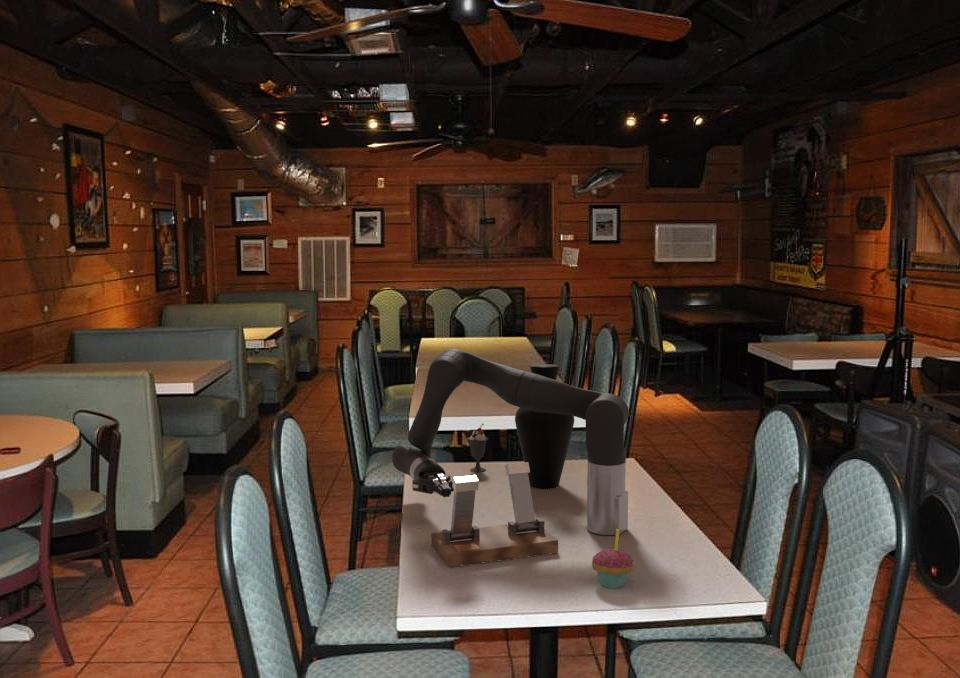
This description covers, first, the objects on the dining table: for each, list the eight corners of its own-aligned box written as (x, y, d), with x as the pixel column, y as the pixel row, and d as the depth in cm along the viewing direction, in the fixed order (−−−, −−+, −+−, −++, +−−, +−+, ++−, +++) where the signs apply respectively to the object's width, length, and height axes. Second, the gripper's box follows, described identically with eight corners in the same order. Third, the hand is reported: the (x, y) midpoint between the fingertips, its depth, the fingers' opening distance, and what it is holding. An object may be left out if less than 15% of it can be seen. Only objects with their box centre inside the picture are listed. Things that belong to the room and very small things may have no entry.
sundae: (488, 473, 255) (488, 425, 253) (466, 473, 255) (466, 425, 253) (488, 467, 261) (488, 420, 260) (467, 467, 262) (467, 420, 260)
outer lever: (469, 534, 191) (475, 474, 185) (472, 540, 189) (478, 480, 183) (447, 537, 189) (453, 477, 183) (450, 543, 187) (456, 482, 181)
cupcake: (605, 572, 178) (606, 518, 176) (641, 582, 172) (642, 526, 171) (583, 585, 171) (584, 529, 170) (620, 596, 166) (621, 538, 164)
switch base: (534, 532, 202) (534, 510, 202) (558, 552, 189) (558, 528, 188) (431, 545, 194) (431, 522, 193) (448, 567, 181) (448, 542, 180)
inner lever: (535, 530, 195) (524, 464, 200) (539, 529, 193) (528, 462, 198) (514, 533, 193) (504, 465, 198) (518, 532, 191) (507, 464, 196)
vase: (506, 479, 248) (506, 363, 244) (560, 474, 253) (560, 361, 249) (527, 496, 231) (527, 372, 227) (583, 490, 236) (584, 369, 232)
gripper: (451, 485, 217) (473, 505, 200) (402, 490, 212) (420, 511, 196) (451, 457, 216) (472, 475, 200) (402, 462, 212) (419, 480, 195)
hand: (446, 493), depth 198 cm, fingers closed
